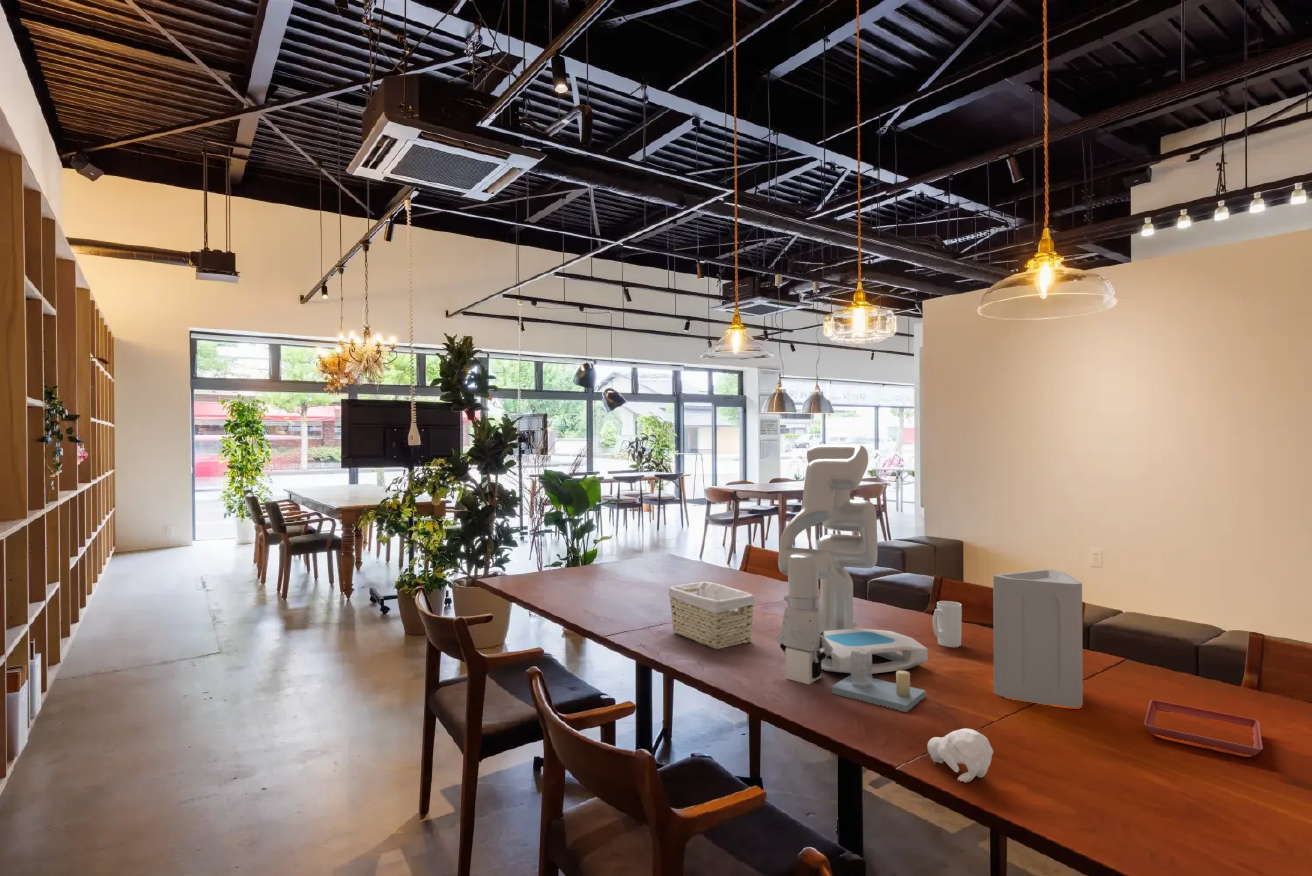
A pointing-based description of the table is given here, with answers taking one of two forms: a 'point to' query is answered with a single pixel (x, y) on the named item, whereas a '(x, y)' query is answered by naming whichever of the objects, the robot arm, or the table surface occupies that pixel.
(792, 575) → the robot arm
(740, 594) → the storage basket
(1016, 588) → the grey triangular planter
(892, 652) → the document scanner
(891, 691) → the slate board
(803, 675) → the matte white cube
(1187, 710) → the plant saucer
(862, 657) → the steel post
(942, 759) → the white animal figure
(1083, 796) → the table surface
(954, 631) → the mug
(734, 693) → the table surface
